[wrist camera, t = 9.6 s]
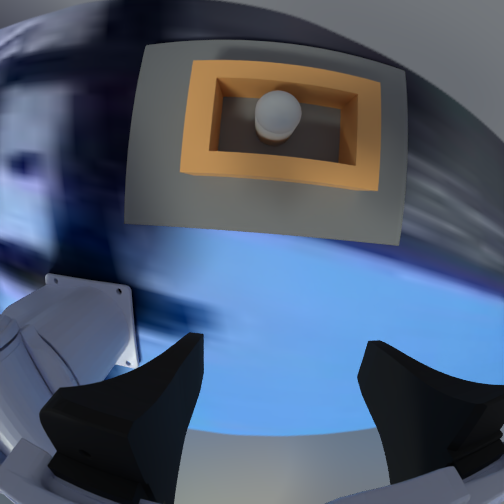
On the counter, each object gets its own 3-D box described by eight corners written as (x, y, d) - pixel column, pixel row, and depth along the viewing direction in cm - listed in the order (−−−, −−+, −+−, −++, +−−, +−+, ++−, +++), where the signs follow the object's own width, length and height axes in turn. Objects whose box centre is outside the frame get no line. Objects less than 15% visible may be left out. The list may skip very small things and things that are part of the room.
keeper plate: (129, 222, 19) (85, 235, 13) (150, 50, 16) (118, 13, 10) (392, 243, 19) (438, 263, 13) (399, 74, 16) (439, 46, 10)
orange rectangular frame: (193, 175, 18) (179, 172, 14) (203, 81, 16) (193, 60, 13) (356, 190, 18) (377, 191, 14) (360, 98, 16) (380, 82, 13)
